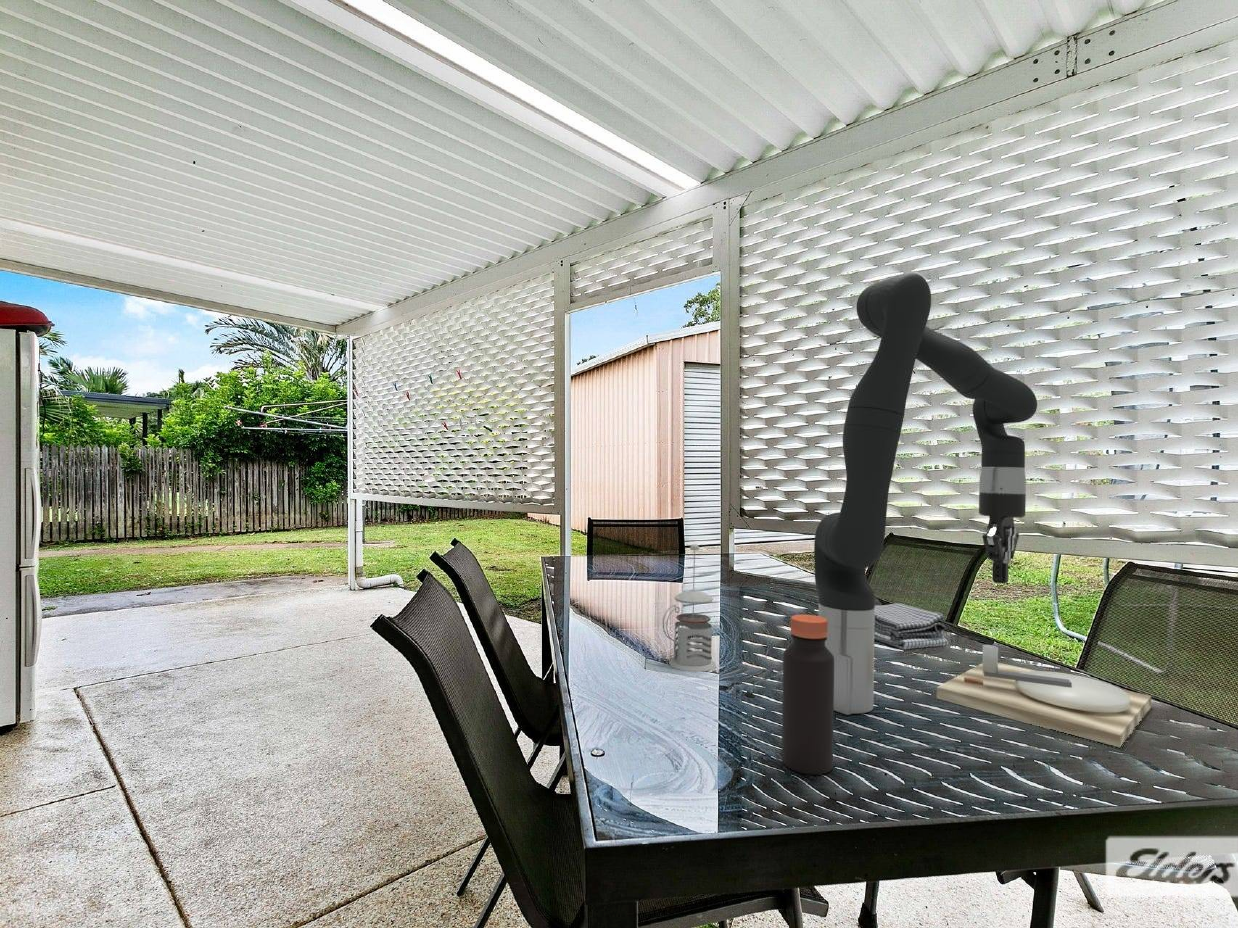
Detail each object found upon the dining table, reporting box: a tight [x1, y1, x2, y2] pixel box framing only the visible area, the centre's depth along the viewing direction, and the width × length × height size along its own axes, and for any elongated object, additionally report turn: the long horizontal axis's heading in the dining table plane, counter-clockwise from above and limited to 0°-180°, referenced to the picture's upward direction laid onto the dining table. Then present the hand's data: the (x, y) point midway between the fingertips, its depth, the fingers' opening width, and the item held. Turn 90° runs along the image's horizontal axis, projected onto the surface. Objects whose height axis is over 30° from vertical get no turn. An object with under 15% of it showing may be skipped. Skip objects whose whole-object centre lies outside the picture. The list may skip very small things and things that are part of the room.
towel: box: [874, 602, 949, 651], centre depth 152 cm, size 15×18×8 cm
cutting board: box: [936, 662, 1152, 748], centre depth 110 cm, size 26×26×3 cm
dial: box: [981, 644, 1130, 713], centre depth 107 cm, size 16×21×7 cm
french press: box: [662, 543, 717, 673], centre depth 128 cm, size 10×12×25 cm
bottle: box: [781, 614, 834, 776], centre depth 85 cm, size 7×7×20 cm
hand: (1000, 582), depth 116 cm, fingers closed
